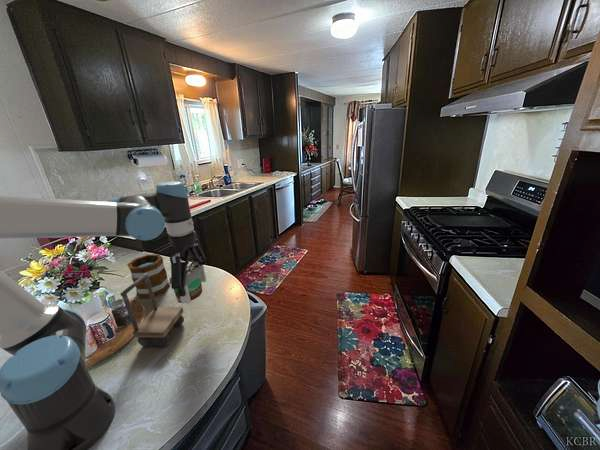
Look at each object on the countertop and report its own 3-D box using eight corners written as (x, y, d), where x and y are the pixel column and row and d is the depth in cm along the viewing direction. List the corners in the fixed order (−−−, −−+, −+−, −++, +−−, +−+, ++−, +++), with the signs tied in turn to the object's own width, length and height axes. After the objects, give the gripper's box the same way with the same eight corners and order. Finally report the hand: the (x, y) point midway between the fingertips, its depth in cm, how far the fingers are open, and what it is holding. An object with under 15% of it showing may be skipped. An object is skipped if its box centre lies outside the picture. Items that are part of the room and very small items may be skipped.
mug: (168, 294, 107) (160, 264, 101) (133, 302, 102) (122, 272, 97) (172, 273, 124) (166, 246, 119) (142, 279, 119) (134, 252, 114)
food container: (192, 307, 76) (186, 280, 73) (175, 305, 78) (168, 278, 74) (212, 284, 88) (207, 260, 84) (197, 283, 89) (192, 259, 86)
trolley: (167, 349, 78) (151, 293, 71) (138, 349, 79) (118, 293, 72) (186, 322, 90) (173, 272, 82) (160, 322, 90) (145, 272, 83)
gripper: (172, 248, 64) (188, 315, 71) (208, 219, 86) (218, 272, 93) (145, 249, 64) (164, 315, 72) (188, 219, 86) (199, 272, 94)
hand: (195, 291), depth 83 cm, fingers closed on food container, 11 cm apart
